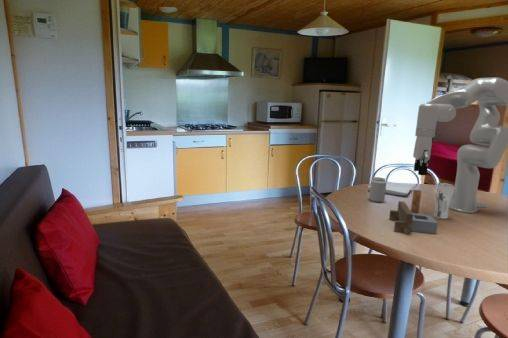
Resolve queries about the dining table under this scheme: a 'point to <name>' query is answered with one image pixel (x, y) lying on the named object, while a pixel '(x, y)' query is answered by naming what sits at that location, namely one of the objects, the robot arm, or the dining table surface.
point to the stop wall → (402, 218)
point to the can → (377, 189)
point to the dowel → (416, 201)
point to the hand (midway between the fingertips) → (419, 172)
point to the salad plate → (397, 189)
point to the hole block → (423, 223)
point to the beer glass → (443, 200)
